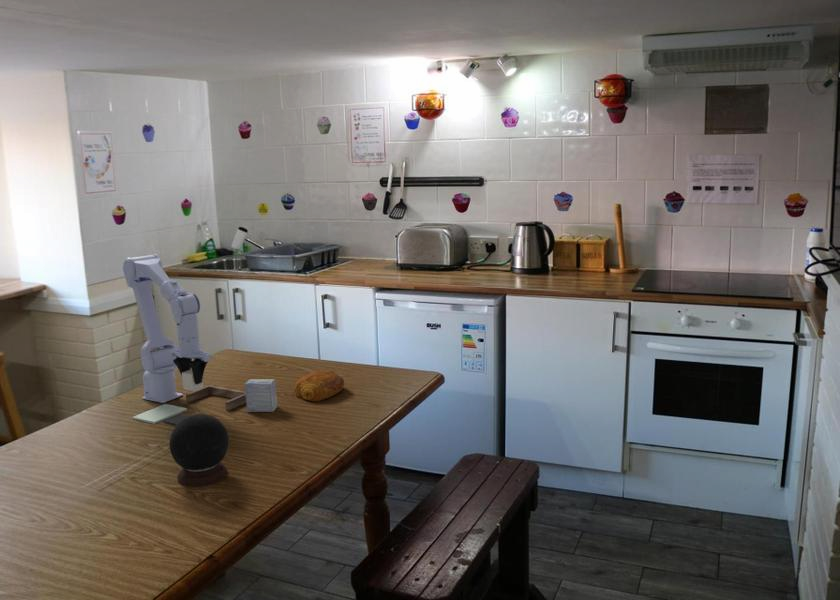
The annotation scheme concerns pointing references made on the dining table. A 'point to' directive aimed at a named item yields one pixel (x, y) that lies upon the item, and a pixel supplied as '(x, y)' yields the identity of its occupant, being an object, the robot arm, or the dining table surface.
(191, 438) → the black smart speaker
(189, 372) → the cream block
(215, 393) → the brown u-shaped bracket
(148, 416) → the pad
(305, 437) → the dining table surface
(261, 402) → the medicine box
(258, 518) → the dining table surface
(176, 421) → the trap tile
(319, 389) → the croissant
